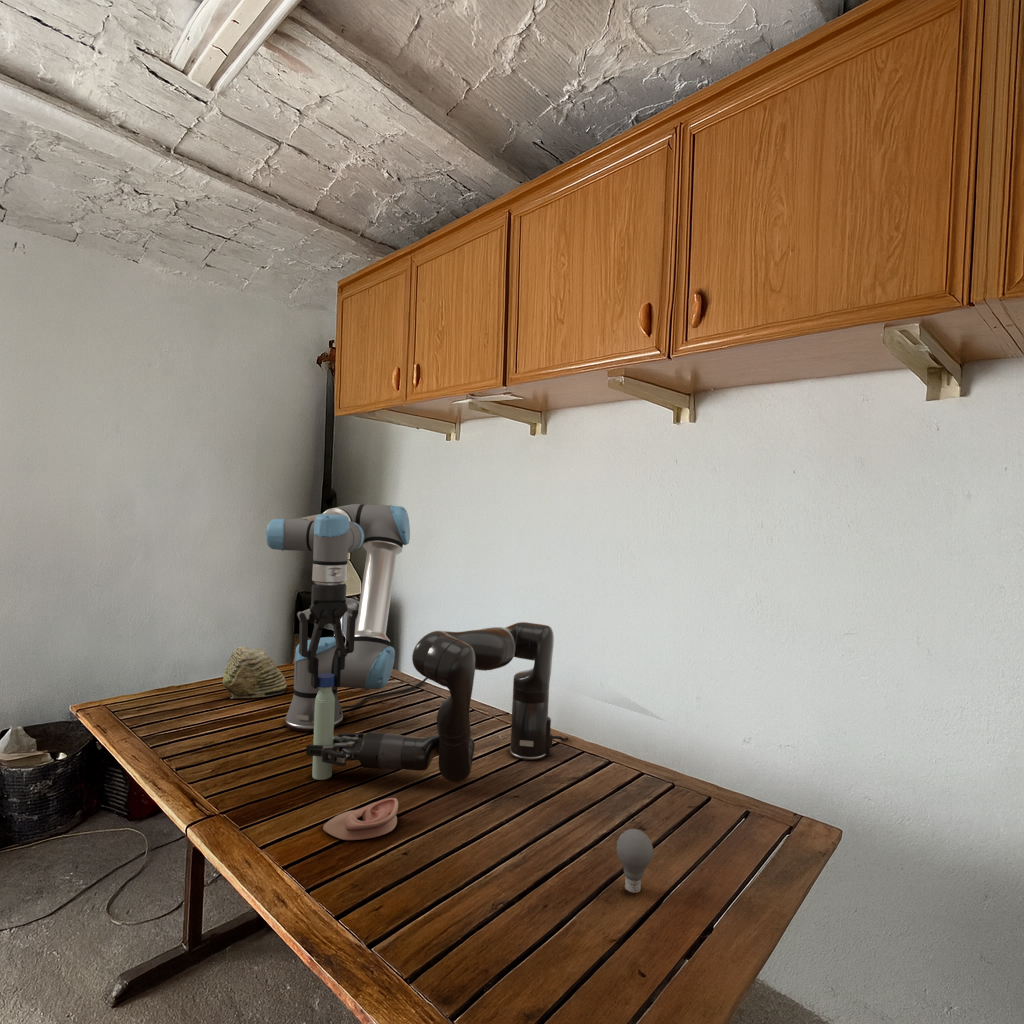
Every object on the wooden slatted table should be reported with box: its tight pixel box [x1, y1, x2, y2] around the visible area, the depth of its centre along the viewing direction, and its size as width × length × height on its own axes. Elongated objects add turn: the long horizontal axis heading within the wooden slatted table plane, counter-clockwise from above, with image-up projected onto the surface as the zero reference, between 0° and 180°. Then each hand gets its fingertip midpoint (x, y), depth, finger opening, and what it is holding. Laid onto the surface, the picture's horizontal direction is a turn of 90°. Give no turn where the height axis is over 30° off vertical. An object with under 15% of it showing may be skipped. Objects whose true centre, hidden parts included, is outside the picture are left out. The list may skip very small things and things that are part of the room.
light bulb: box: [615, 828, 654, 894], centre depth 106 cm, size 6×6×10 cm
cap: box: [318, 673, 335, 688], centre depth 143 cm, size 4×4×2 cm
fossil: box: [222, 646, 288, 699], centre depth 198 cm, size 9×18×15 cm, turn 132°
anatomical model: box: [322, 797, 399, 841], centre depth 122 cm, size 13×4×12 cm
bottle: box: [311, 687, 335, 781], centre depth 144 cm, size 4×4×22 cm
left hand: (325, 685), depth 143 cm, fingers open, 4 cm apart
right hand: (311, 745), depth 144 cm, fingers closed on bottle, 4 cm apart
